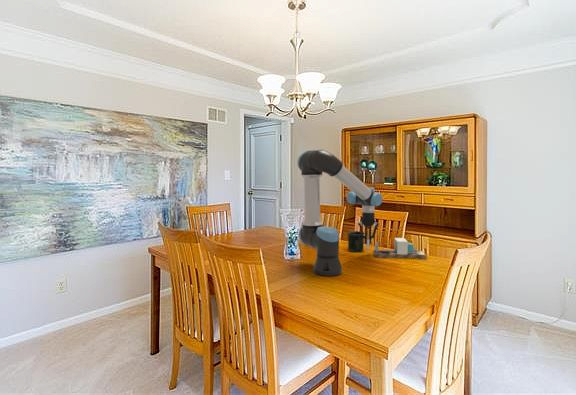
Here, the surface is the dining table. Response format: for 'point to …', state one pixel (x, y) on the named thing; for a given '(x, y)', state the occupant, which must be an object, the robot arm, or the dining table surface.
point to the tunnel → (401, 246)
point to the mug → (355, 241)
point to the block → (410, 247)
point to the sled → (392, 250)
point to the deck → (399, 255)
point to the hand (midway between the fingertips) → (367, 248)
